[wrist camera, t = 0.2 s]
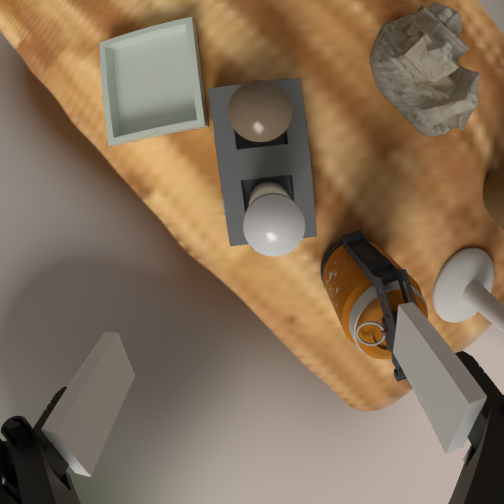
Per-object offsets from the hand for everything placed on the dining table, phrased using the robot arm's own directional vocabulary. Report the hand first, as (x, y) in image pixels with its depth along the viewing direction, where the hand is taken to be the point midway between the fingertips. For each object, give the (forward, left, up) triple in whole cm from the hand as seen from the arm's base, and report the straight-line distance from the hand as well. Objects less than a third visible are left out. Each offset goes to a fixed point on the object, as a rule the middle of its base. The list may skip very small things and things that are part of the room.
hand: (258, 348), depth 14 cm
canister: (+7, +12, -28) cm, 31 cm away
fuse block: (-7, +2, -27) cm, 28 cm away
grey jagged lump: (-18, +25, -28) cm, 41 cm away
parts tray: (-19, -10, -27) cm, 35 cm away
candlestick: (+14, +32, -28) cm, 44 cm away
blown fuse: (-11, +2, -26) cm, 29 cm away
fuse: (-2, +2, -26) cm, 27 cm away
